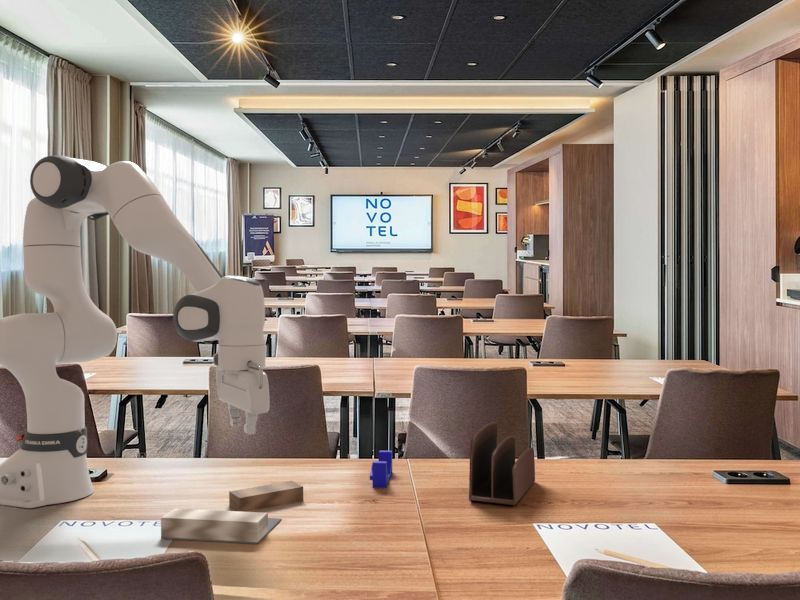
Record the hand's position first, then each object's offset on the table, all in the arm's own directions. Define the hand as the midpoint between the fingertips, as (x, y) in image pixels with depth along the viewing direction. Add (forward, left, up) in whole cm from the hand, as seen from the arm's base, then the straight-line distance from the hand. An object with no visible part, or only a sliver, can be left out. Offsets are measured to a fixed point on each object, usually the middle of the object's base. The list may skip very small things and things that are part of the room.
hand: (242, 430), depth 142 cm
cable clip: (+22, +29, -17) cm, 40 cm away
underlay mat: (-1, -7, -17) cm, 18 cm away
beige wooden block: (-1, -11, -17) cm, 20 cm away
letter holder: (+50, +26, -17) cm, 59 cm away
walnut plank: (+2, +8, -17) cm, 19 cm away
